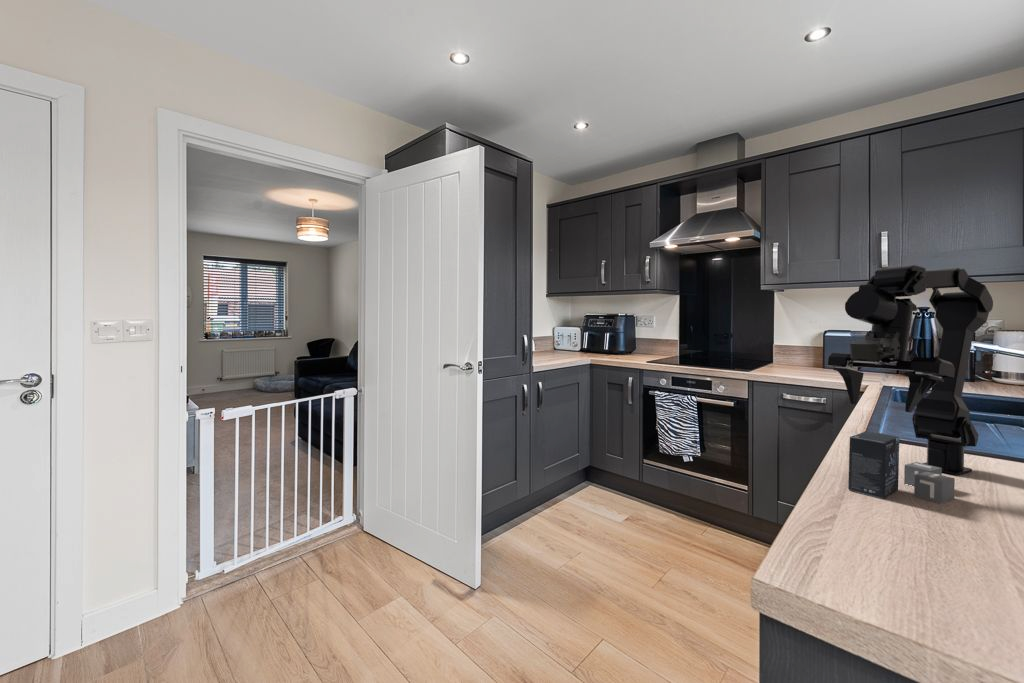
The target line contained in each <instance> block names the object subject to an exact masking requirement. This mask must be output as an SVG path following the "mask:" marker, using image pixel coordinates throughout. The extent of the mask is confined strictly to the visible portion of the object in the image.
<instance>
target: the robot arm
mask: <svg viewBox="0 0 1024 683" xmlns="http://www.w3.org/2000/svg"><path fill="white" fill-rule="evenodd" d="M948 288H949V289H950V288H951V289H953V288H959V290H960V291H957V292H956V291H955V292H945V293H943V294H941V291H940V290H939V289H948ZM927 289H932V293H931V295H930V298H929V300H928V302H929V303H930V304H931V306H932V308H933V309H934V311H935V313H934V314H935V317H934V318H935V319H936V321H937V323H938V324H939V325H940V327H941V328H942V332H941V336H940V343H939V346H938V347H939V349H938V353H937V357H921V356H914V357H913V358H912V359H911V358H910V357H907V355H908V354H907V352H908V346H909V343H911V344H912V343H913V337H912V336H910V334H911V333H910V331H911V326H912V318H913V317H912V316H913V312H917V311H918V306H917V305H916V304H915V303H914V302H912V299H911V298H910V297H912V296H917V295H920V294H922V293H924V292H926V290H927ZM901 297H904V298H901ZM905 297H909V298H905ZM993 308H994V300H993V298H992V295H991V294H990V292H989V290H988V288H987V286H986V285H985V284H984V283H981V282H980V281H977V280H976V279H974V278H972V277H970V276H969V274H968V273H967V271H966V269H965V268H960V267H955V268H954V267H953V268H946V269H945V268H944V269H936V270H927V269H926V268H925V267H923V266H919V265H916V264H914V265H905V266H903V265H902V266H896V267H886V268H879V269H877V270H875V271H874V275H872V276H871V277H870V279H869V280H868V281H867V282H866V284H860V285H859V286H858V290H857V291H856V292H854V293H852V294H851V295H849V297H848V298H847V300H846V301H845V303H844V310H845V313H846V314H847V316H849V317H850V318H852V319H855V320H858V321H860V322H863V323H868V324H870V325H871V331H867V332H866V333H865V337H864V339H860V340H856V341H852V342H849V352H850V353H839V352H838V353H837V352H836V353H835V352H832V353H830V355H829V356H827V360H826V366H827V367H832V370H833V371H835V372H838V374H839V375H840V376H841V378H842V379H843V382H844V384H845V387H846V391H847V394H848V399H849V401H850V402H849V403H850V404H851V405H855V406H856V405H857V403H858V400H859V397H860V393H861V388H862V383H863V380H864V372H862V371H860V370H862V369H864V368H866V369H880V370H894V371H907V372H908V371H909V373H907V377H908V380H909V381H908V382H909V385H908V389H907V395H906V400H905V407H904V408H905V410H904V411H905V412H906V413H908V414H909V413H910V414H911V413H912V412H913V410H914V409H915V410H914V412H913V414H912V425H913V430H914V435H915V438H917V439H924V440H926V441H927V442H926V443H927V444H926V446H927V447H926V448H927V449H926V462H922V464H927V465H931V466H935V467H940V468H942V473H944V474H945V473H946V474H951V475H955V476H958V475H963V474H966V473H970V472H973V469H972V468H969V467H966V466H965V447H967V448H968V447H978V446H977V444H978V442H979V433H978V431H977V430H976V428H975V425H973V423H972V421H971V419H970V414H971V412H970V410H969V408H968V407H967V405H966V403H965V402H964V400H963V399H962V398H963V396H962V395H963V390H964V385H965V380H966V375H967V369H968V364H969V359H970V358H969V357H970V353H971V347H972V342H973V338H974V337H973V336H974V333H976V331H978V330H979V329H980V328H981V327H982V326H984V325H985V324H986V323H987V321H988V317H989V314H990V313H991V312H992V311H993ZM910 359H911V360H910ZM890 363H896V364H890ZM912 372H915V373H912ZM929 391H930V392H929ZM928 392H929V393H928ZM926 394H927V395H926Z"/></svg>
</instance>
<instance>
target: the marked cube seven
mask: <svg viewBox="0 0 1024 683" xmlns="http://www.w3.org/2000/svg"><path fill="white" fill-rule="evenodd" d="M955 479H956V478H955V477H951V476H948V475H947V476H946V475H943V474H942V475H939V474H935V473H931V472H923V473H919V474H915V483H914V487H913V488H914V489H913V490H914V494H913V495H914V496H915V497H919V498H923V499H926V500H929V501H931V502H936V503H940V504H945V503H947V502H951V501H954V500H955V483H956V482H955Z"/></svg>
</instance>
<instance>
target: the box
mask: <svg viewBox="0 0 1024 683" xmlns="http://www.w3.org/2000/svg"><path fill="white" fill-rule="evenodd" d="M848 448H849V449H848V450H849V451H848V485H847V487H848V490H849V491H851V492H855V493H858V494H863V495H866V496H870V497H874V498H877V499H881V500H883V499H885V498H887V497H889V496H890V495H891V494H893V493H894V492H897V491H898V490H899V476H900V475H899V471H900V470H899V469H900V468H899V466H900V465H899V464H900V436H896V435H890V434H885V433H879V432H873V431H867V430H865V431H862V432H860V433H858V434H854V435H851V436H850V437H849V447H848Z"/></svg>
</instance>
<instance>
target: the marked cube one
mask: <svg viewBox="0 0 1024 683" xmlns="http://www.w3.org/2000/svg"><path fill="white" fill-rule="evenodd" d="M922 463H923V462H922ZM922 463H921V462H917V461H916V462H912V463H907V464H904V474H903V475H904V479H903V481H904V483H903V484H904V485H905V484H908V485H907V486H909V485H912V486H914V483H915V474H919V473H923V472H931V473H935V474H939V475H943V474H942V473H943V472H942V468H940V467H935V466H931V465H927V464H922ZM912 486H911V487H912Z"/></svg>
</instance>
